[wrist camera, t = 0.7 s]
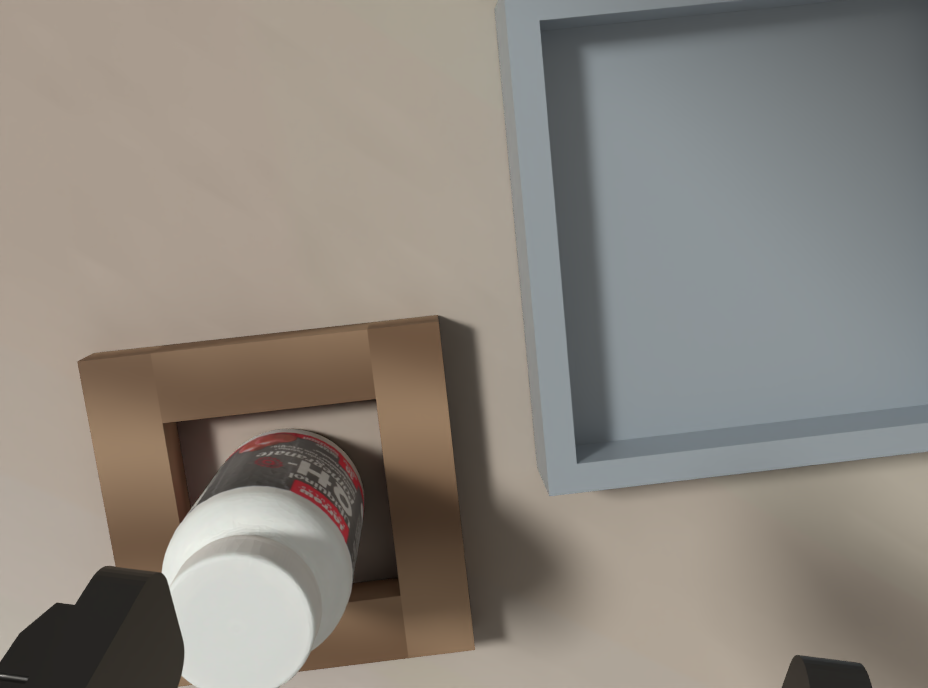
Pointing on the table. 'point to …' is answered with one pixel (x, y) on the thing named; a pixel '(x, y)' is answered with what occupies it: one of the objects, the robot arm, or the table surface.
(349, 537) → the pill bottle
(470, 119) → the table surface
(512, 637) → the table surface
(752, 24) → the slate tray
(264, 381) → the walnut socket
